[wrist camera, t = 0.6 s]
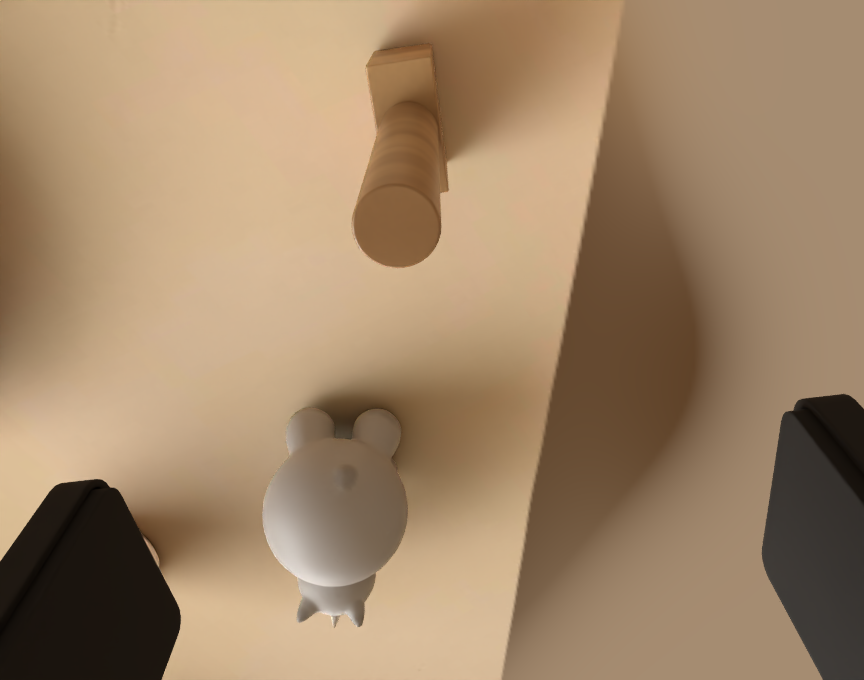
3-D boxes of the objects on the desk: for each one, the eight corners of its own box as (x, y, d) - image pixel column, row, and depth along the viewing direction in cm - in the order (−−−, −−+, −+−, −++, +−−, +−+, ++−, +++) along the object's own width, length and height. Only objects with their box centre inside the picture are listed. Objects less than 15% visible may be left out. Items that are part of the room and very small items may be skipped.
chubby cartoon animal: (284, 545, 42) (252, 672, 34) (282, 388, 36) (243, 502, 28) (398, 554, 42) (391, 681, 35) (416, 400, 36) (412, 515, 29)
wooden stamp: (373, 51, 27) (326, 131, 15) (431, 42, 27) (430, 117, 15) (393, 171, 30) (367, 322, 18) (446, 164, 29) (457, 311, 17)
